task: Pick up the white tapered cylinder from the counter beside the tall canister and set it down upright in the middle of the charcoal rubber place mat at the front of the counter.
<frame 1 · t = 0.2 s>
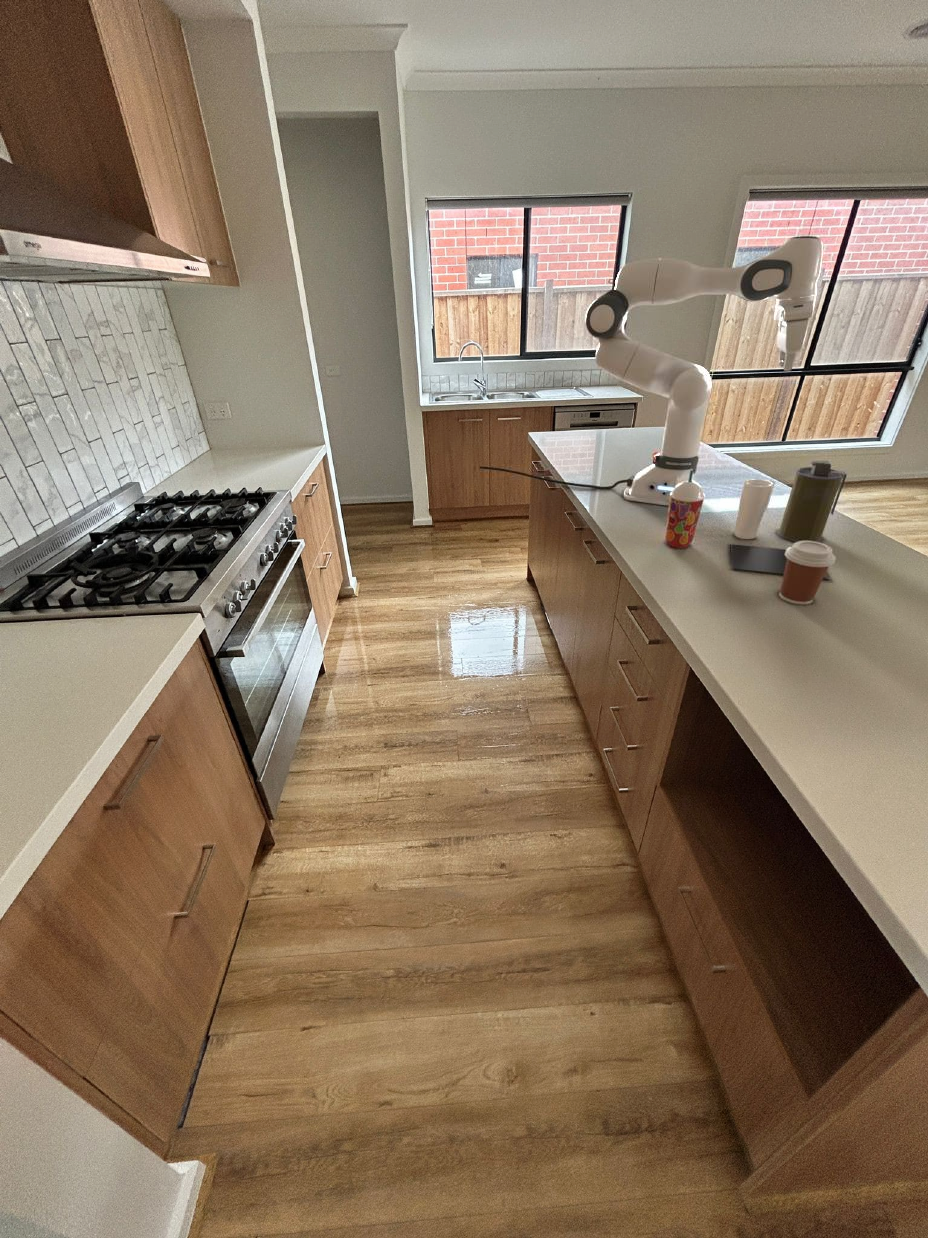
hand: (784, 368, 141), 39 cm above the countertop, tool pointing down, fingers open, 8 cm apart
coffee cup: (795, 597, 113), on the countertop
place mat: (775, 561, 127), on the countertop
smoothie: (677, 544, 139), on the countertop
white tapered cylinder: (744, 536, 141), on the countertop
canister: (799, 536, 140), on the countertop
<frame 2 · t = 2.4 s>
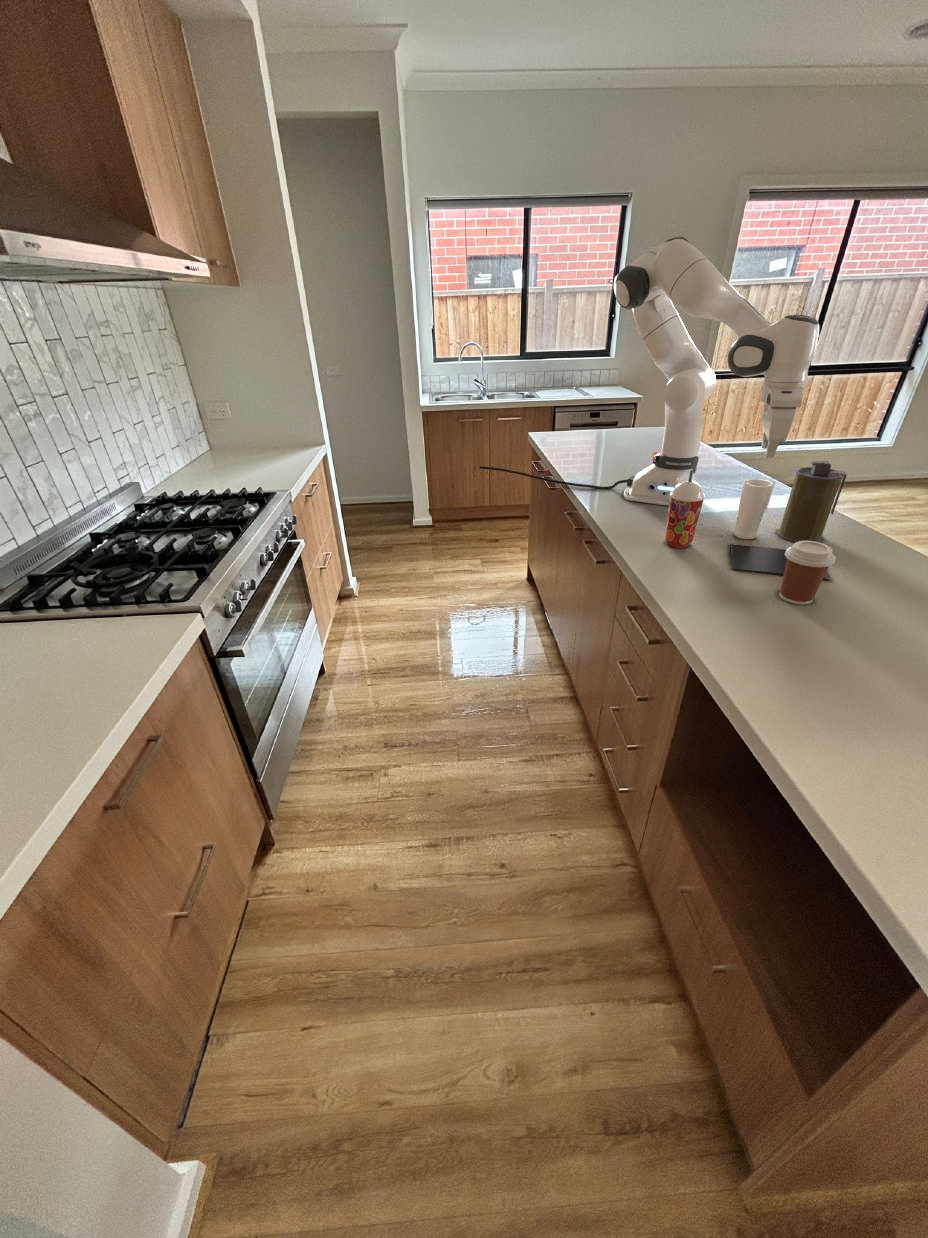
hand: (767, 452, 129), 23 cm above the countertop, tool pointing down, fingers open, 8 cm apart
nothing on the countertop moved.
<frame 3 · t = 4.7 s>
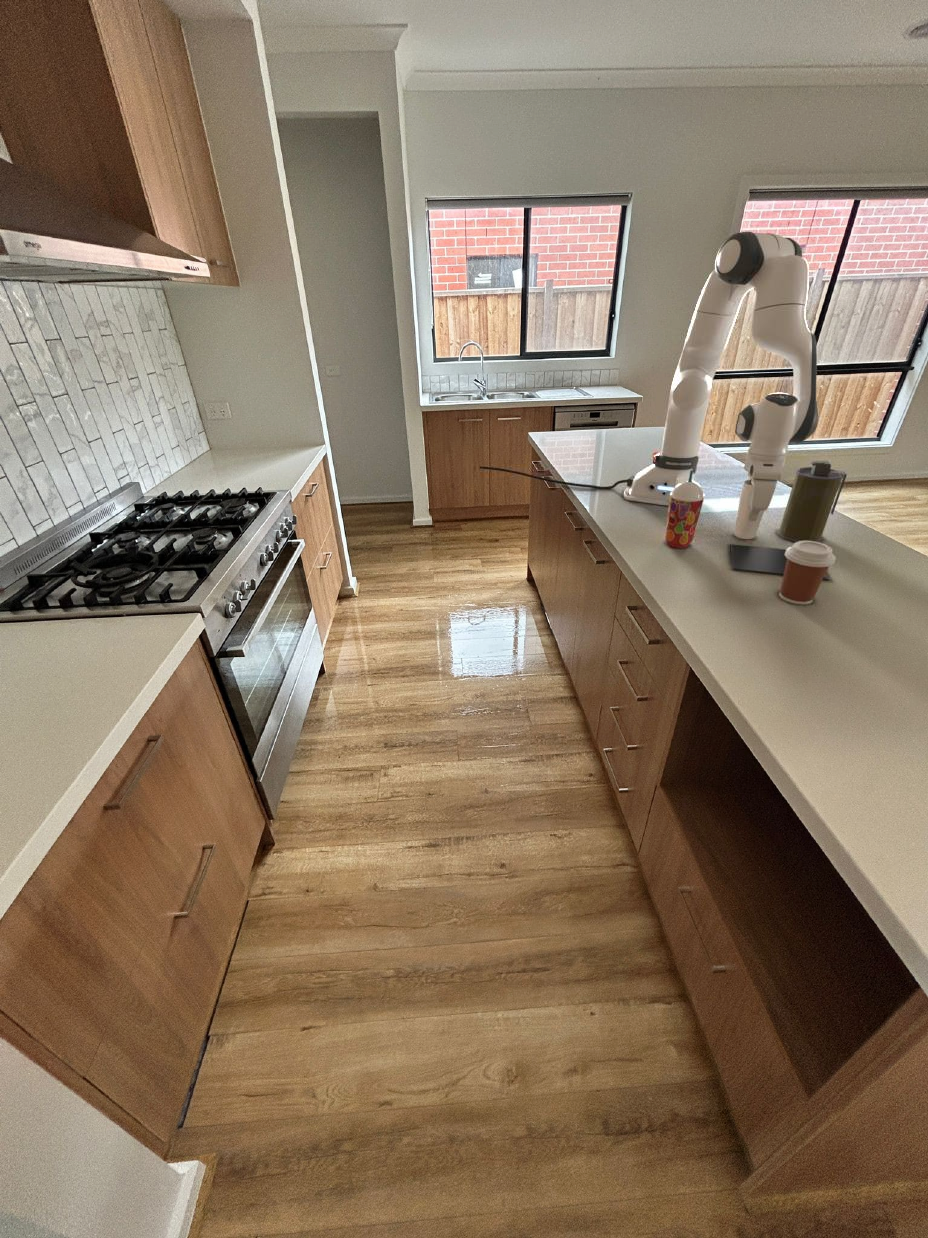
hand: (750, 515, 138), 6 cm above the countertop, tool pointing down, fingers closed on white tapered cylinder, 6 cm apart
white tapered cylinder: (744, 537, 141), on the countertop, touching gripper
everything else where it was.
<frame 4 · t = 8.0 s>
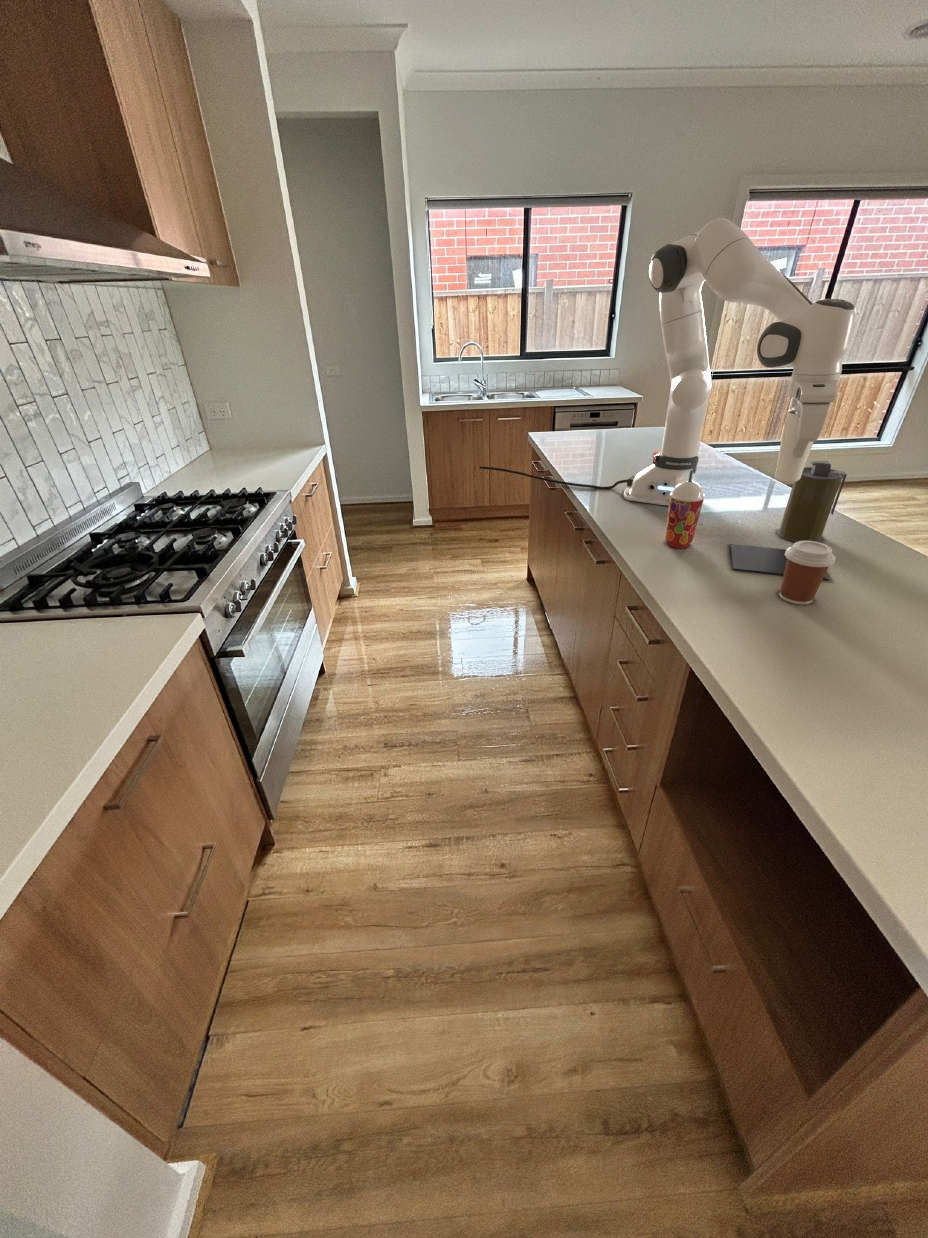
hand: (794, 452, 117), 26 cm above the countertop, tool pointing down, fingers closed on white tapered cylinder, 6 cm apart
white tapered cylinder: (786, 480, 121), point 19 cm above the countertop, touching gripper
everything else where it was.
when the fingers open (7 cm above the countertop, at t = 11.7 s): white tapered cylinder stays where it is, resting on place mat.
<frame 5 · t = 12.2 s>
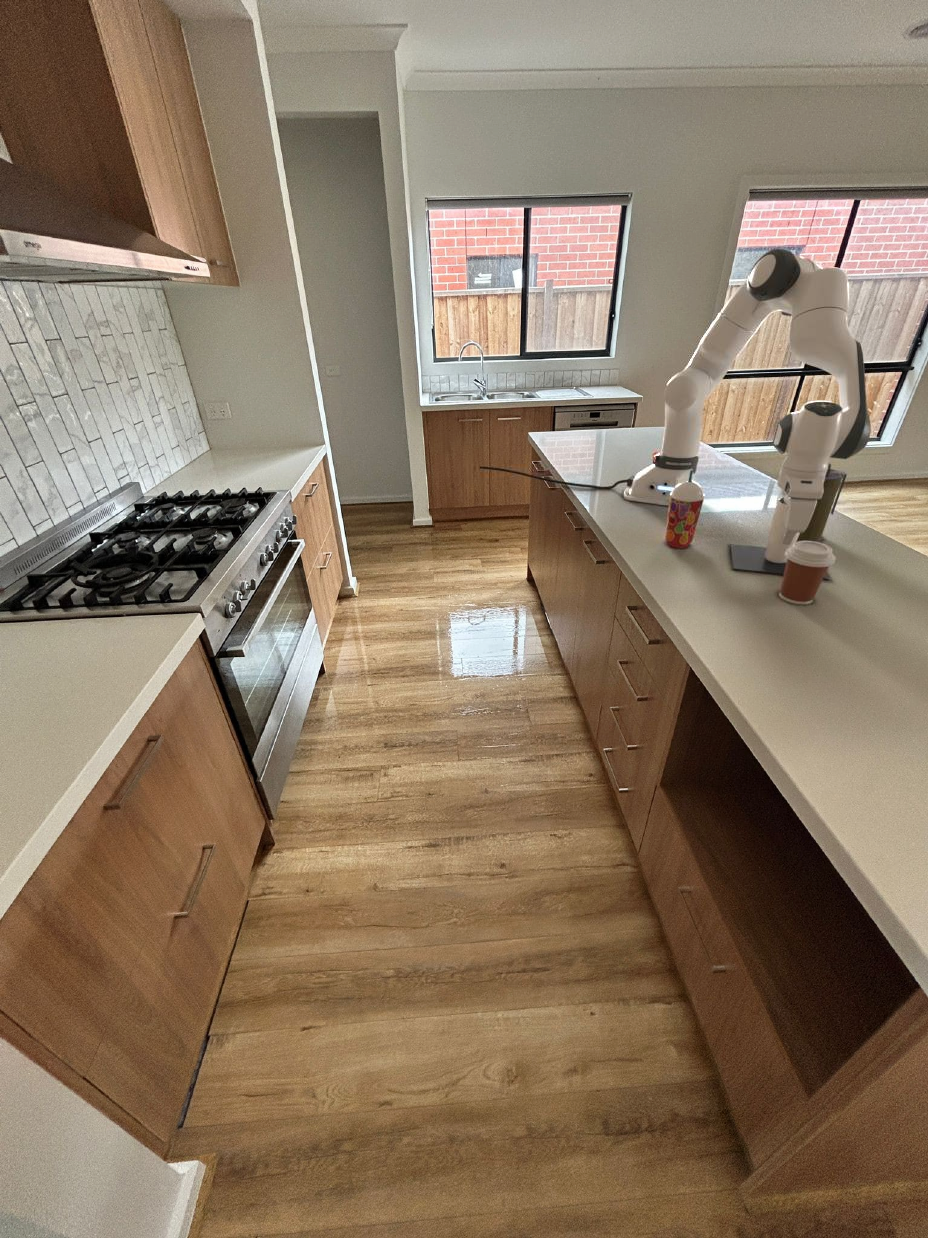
hand: (783, 535, 124), 7 cm above the countertop, tool pointing down, fingers open, 8 cm apart
white tapered cylinder: (775, 560, 127), resting on place mat
everything else where it was.
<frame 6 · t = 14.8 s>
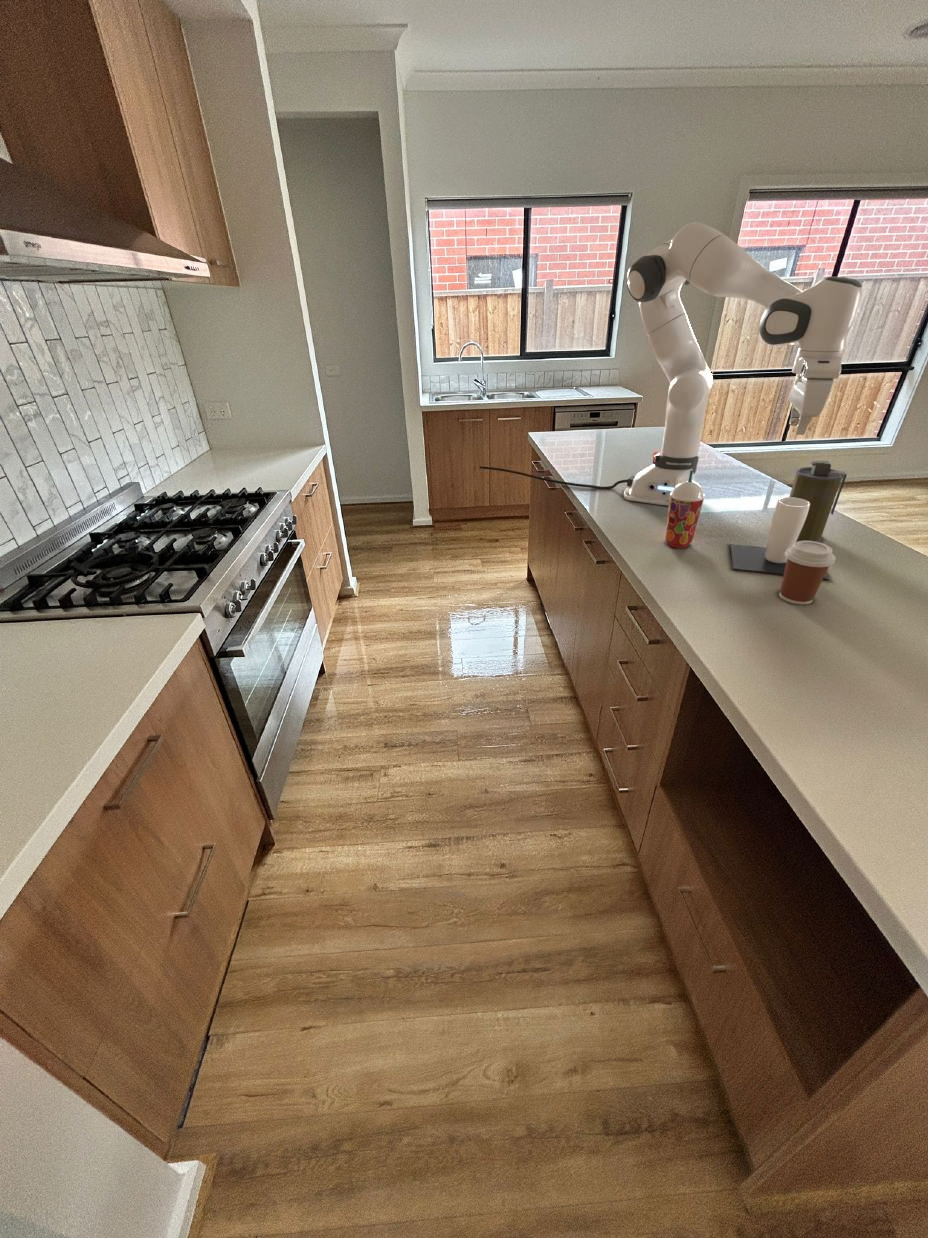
hand: (796, 429, 120), 29 cm above the countertop, tool pointing down, fingers open, 8 cm apart
nothing on the countertop moved.
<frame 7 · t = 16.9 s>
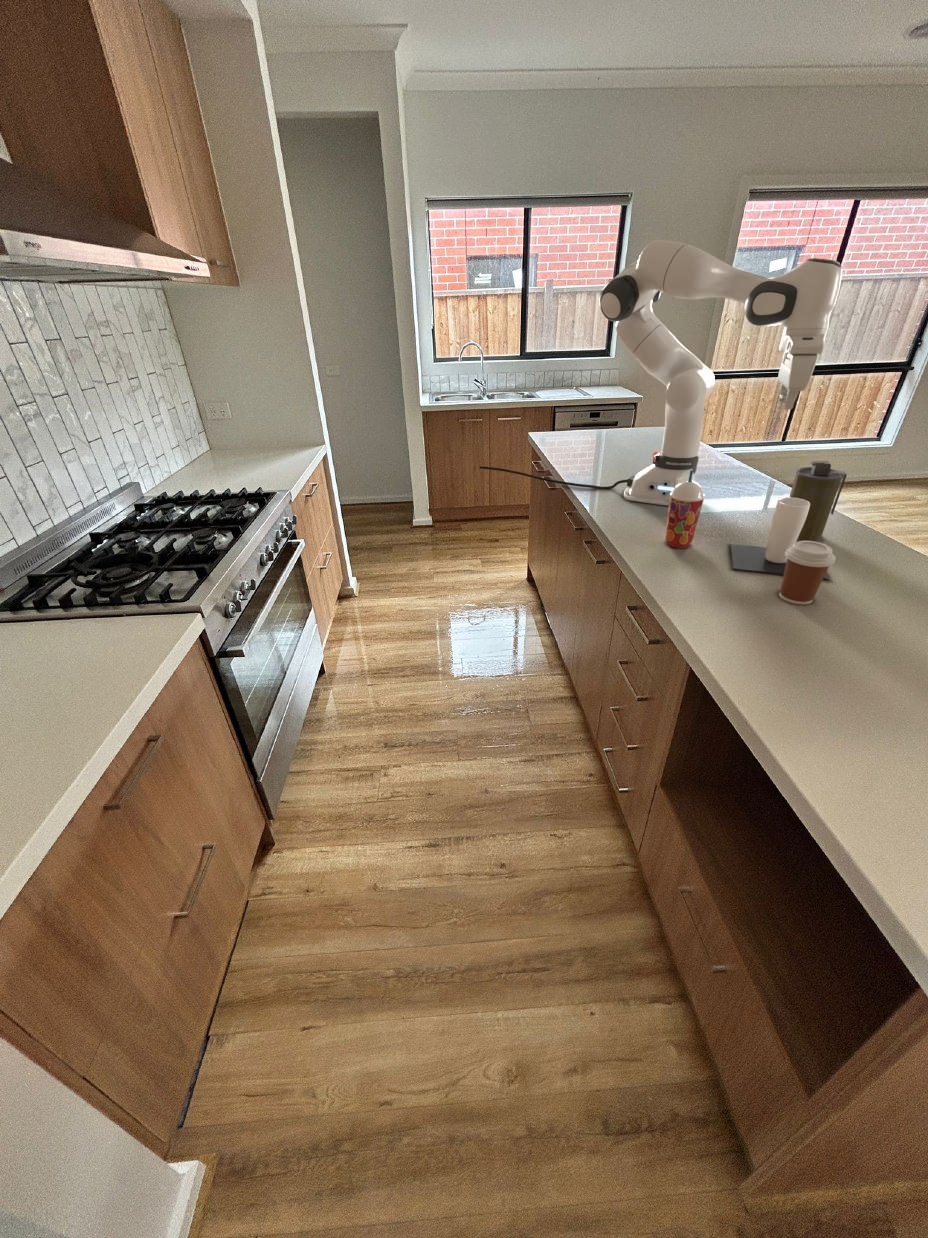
hand: (784, 405, 127), 33 cm above the countertop, tool pointing down, fingers open, 8 cm apart
nothing on the countertop moved.
at the end: white tapered cylinder inside the target area on the place mat (0.2 cm from its centre), point 0.2 cm above the place mat's base; white tapered cylinder tilted 0°; the gripper is holding nothing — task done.
